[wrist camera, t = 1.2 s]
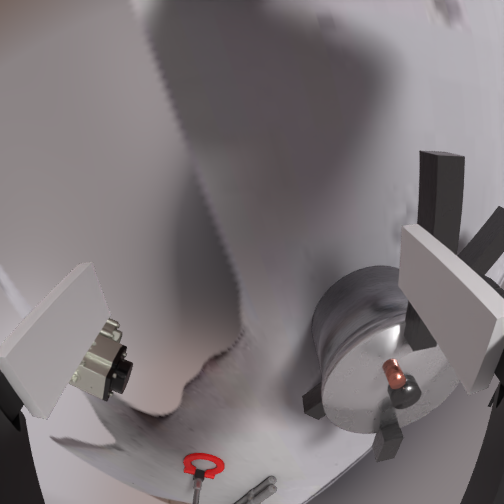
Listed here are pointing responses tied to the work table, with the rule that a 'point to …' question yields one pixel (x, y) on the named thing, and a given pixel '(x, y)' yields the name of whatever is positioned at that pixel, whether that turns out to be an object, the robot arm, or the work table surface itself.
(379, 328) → the lid
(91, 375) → the pneumatic valve
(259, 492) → the metal rod assembly
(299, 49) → the work table surface
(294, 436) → the work table surface
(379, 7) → the work table surface
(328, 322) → the pot
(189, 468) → the tow hook
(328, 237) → the work table surface
